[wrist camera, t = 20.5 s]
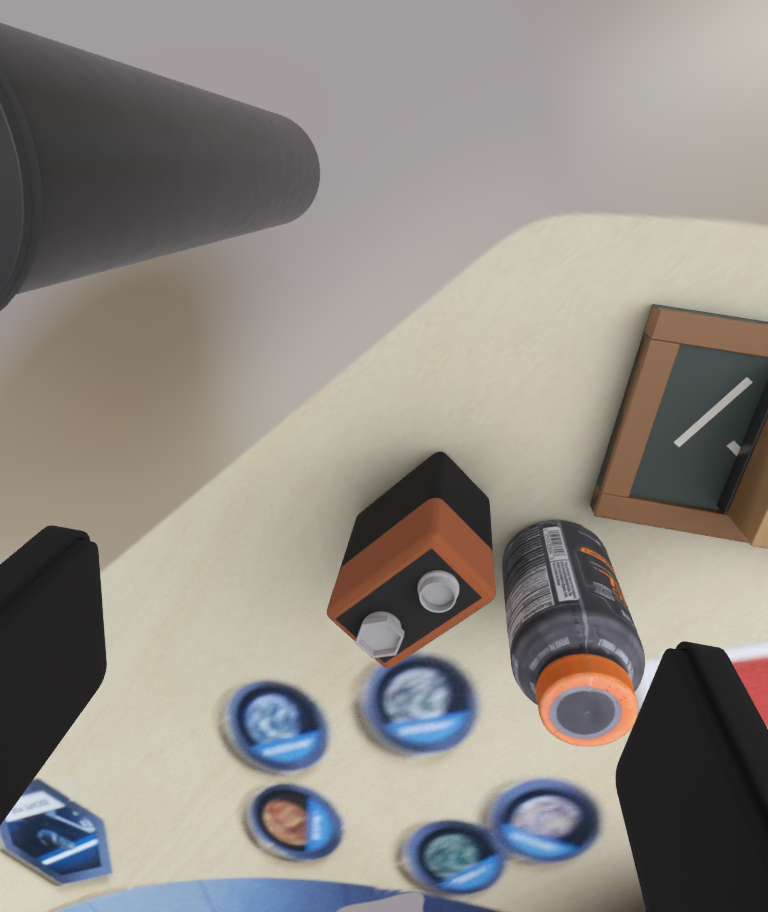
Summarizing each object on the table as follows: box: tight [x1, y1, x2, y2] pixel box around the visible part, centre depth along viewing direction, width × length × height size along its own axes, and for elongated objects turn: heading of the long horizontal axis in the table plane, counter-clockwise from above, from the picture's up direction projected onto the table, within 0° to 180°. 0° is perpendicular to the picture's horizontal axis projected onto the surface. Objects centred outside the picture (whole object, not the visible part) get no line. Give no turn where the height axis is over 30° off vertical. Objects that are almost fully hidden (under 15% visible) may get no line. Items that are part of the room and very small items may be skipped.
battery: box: [327, 452, 496, 668], centre depth 31 cm, size 4×7×10 cm, turn 134°
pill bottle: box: [502, 520, 645, 747], centre depth 31 cm, size 6×6×11 cm
